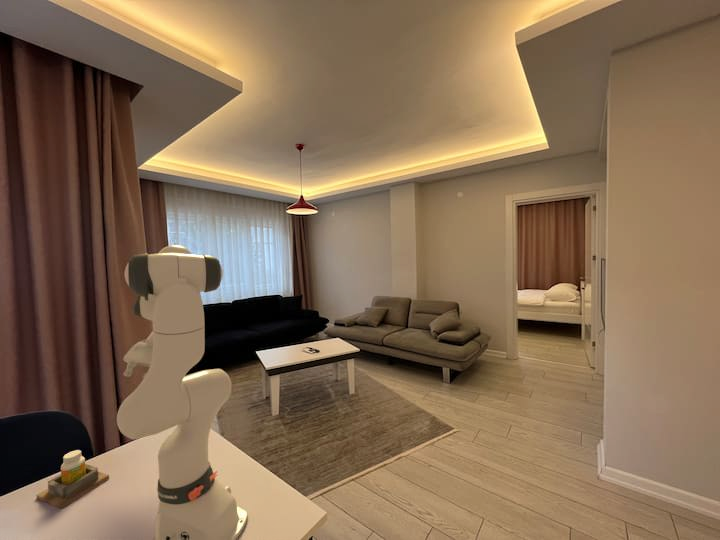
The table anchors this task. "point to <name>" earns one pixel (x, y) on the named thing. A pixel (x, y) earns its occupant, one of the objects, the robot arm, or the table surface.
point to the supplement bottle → (72, 467)
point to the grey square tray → (71, 487)
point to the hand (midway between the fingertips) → (135, 377)
